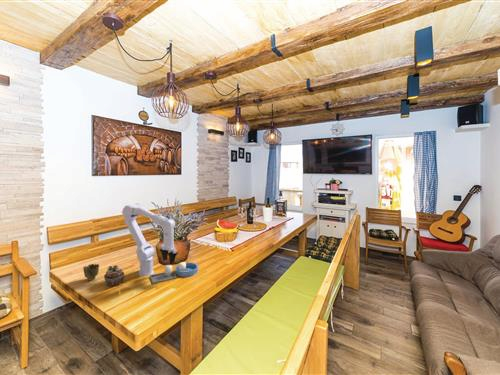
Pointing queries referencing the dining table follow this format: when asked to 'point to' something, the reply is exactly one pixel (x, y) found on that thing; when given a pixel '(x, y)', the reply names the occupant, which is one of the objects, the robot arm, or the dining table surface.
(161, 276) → the tray
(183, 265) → the white rounded capsule
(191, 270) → the bowl
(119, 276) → the cupcake
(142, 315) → the dining table surface
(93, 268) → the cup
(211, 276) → the dining table surface
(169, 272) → the cylinder
